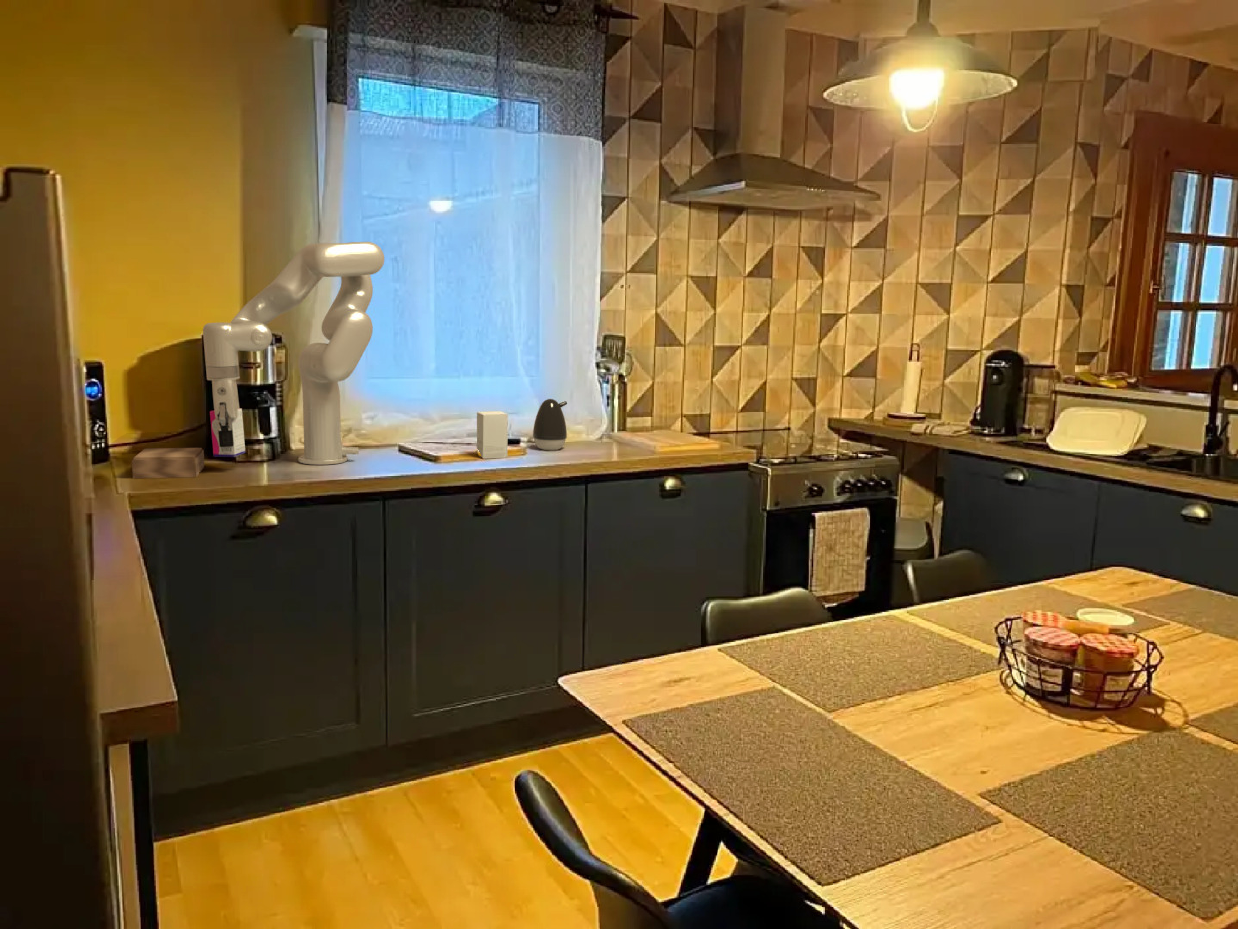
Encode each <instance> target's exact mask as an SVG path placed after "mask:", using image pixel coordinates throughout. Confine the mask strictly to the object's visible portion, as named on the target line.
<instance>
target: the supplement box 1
mask: <svg viewBox="0 0 1238 929" xmlns="http://www.w3.org/2000/svg"><path fill="white" fill-rule="evenodd" d="M242 409H243V408H239V409H238V418H237V419H235V420H234V419H233V418H231V430H233V443H234V445H233V446H232V447H220V445H219V433H218V431H219V420H217V419H216V418H215V411H214V410H210V411H209V417H210V425H211V426H210V429H211V441H212V453H213V457H215V458H217V457H220V458H221V457H225V458H226V457H227V458H236V457H238V456H241V455H244V454H245V453H246V445H245V443H246V442H245V431H244V420H243V410H242ZM217 416H218V417H219V414H217ZM226 418H229V415H228V416H226ZM218 419H219V418H218Z"/></svg>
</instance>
